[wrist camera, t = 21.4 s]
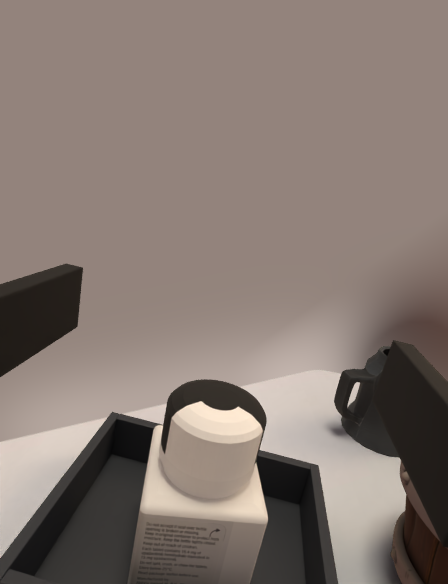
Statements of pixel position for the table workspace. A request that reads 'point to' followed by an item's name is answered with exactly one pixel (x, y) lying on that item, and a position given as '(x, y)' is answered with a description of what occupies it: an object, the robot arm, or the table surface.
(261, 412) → the container
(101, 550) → the tub
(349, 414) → the mug
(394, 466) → the table surface
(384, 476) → the table surface
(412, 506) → the flowerpot
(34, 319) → the robot arm
